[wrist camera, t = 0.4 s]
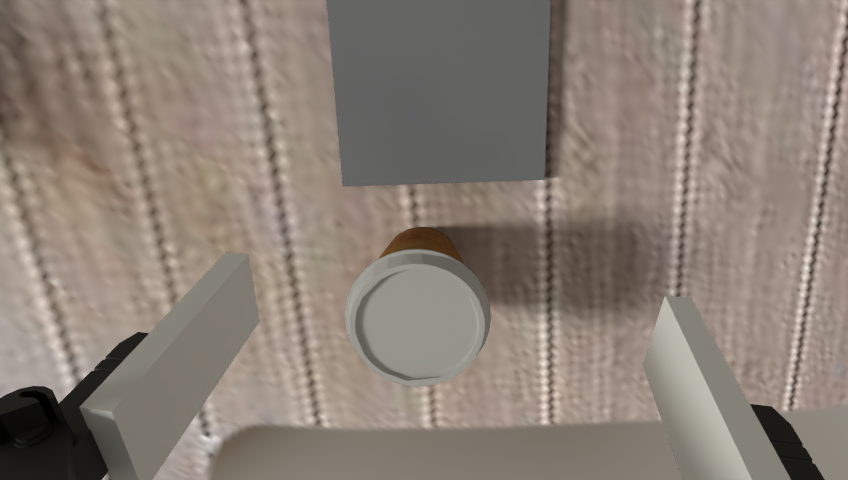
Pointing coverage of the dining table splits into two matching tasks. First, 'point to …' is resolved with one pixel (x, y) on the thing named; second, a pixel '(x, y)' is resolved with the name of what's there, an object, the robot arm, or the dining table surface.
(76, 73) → the dining table surface
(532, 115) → the slate board
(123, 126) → the dining table surface
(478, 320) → the disposable coffee cup
